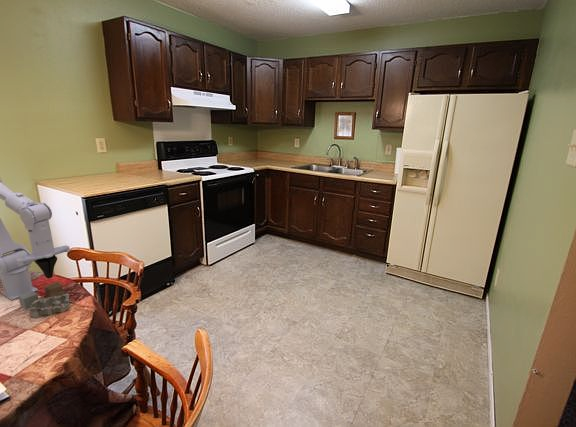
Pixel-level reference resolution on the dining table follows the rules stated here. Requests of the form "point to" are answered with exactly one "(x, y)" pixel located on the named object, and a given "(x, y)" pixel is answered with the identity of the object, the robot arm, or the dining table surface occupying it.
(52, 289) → the walnut block
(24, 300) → the slate-grey block
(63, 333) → the dining table surface
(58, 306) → the grey piece
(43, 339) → the dining table surface
